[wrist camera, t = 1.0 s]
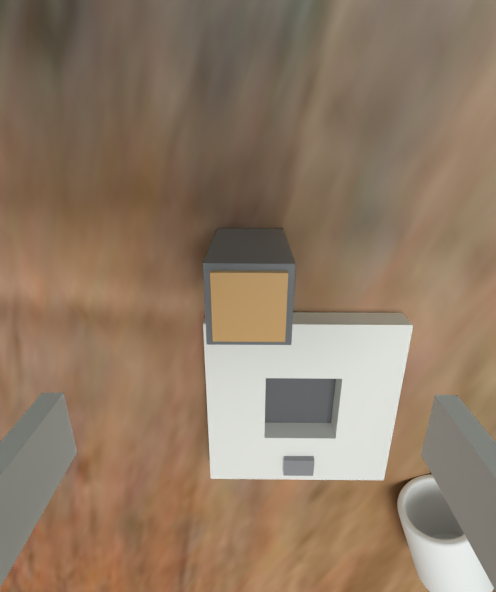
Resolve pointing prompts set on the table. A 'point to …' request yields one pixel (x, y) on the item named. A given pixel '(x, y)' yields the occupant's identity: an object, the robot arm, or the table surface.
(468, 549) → the mug
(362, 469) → the socket plate
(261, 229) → the plug
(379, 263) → the table surface
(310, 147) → the table surface
